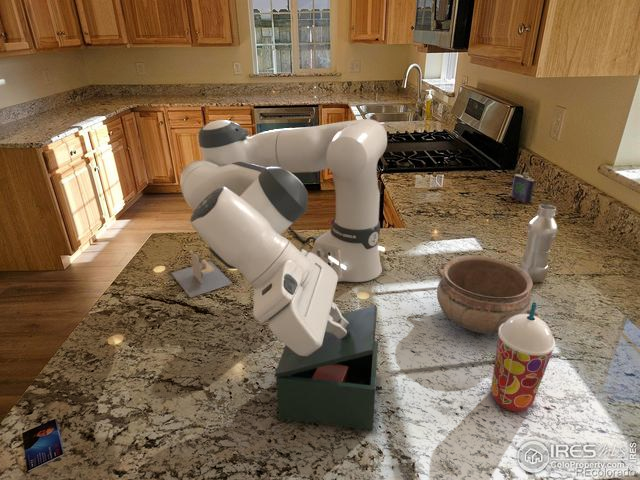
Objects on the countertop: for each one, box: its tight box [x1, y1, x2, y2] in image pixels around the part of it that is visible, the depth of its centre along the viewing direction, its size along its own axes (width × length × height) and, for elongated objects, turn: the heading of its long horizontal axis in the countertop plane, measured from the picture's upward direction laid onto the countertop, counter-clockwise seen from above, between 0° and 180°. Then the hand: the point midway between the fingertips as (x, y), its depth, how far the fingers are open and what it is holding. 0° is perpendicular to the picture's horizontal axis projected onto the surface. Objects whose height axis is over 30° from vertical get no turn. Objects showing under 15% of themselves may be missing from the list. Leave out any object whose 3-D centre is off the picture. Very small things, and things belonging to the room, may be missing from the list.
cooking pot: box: [436, 255, 542, 335], centre depth 91 cm, size 25×19×12 cm
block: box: [312, 363, 348, 383], centre depth 73 cm, size 5×5×5 cm
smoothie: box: [490, 301, 556, 413], centre depth 70 cm, size 8×8×20 cm
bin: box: [275, 340, 379, 431], centre depth 73 cm, size 16×12×9 cm
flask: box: [509, 172, 535, 205], centre depth 160 cm, size 9×3×11 cm, turn 21°
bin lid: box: [274, 304, 378, 378], centre depth 69 cm, size 16×12×1 cm
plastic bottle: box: [518, 204, 558, 283], centre depth 106 cm, size 6×7×20 cm
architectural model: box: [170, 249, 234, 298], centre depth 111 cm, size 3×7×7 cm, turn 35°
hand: (344, 331), depth 68 cm, fingers closed, pressing on bin lid
